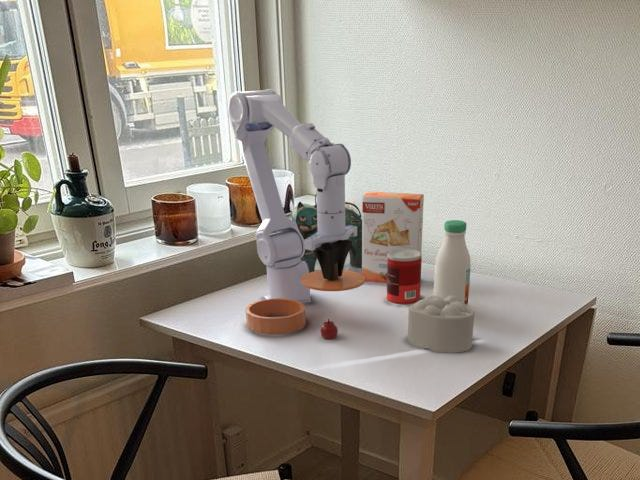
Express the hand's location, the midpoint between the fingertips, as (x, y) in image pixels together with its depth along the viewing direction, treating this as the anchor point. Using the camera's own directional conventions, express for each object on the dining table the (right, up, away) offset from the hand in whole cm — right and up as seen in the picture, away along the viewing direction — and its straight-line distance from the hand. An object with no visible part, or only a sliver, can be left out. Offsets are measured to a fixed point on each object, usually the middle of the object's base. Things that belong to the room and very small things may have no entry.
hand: (332, 277), depth 155 cm
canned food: (+16, -1, +16) cm, 23 cm away
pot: (-12, -10, +3) cm, 16 cm away
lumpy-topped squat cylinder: (+23, -15, -5) cm, 28 cm away
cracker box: (+14, +7, +28) cm, 32 cm away
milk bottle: (+26, -6, +9) cm, 28 cm away
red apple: (-1, -14, -3) cm, 14 cm away
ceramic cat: (-2, +12, +38) cm, 40 cm away
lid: (0, -1, 0) cm, 1 cm away
